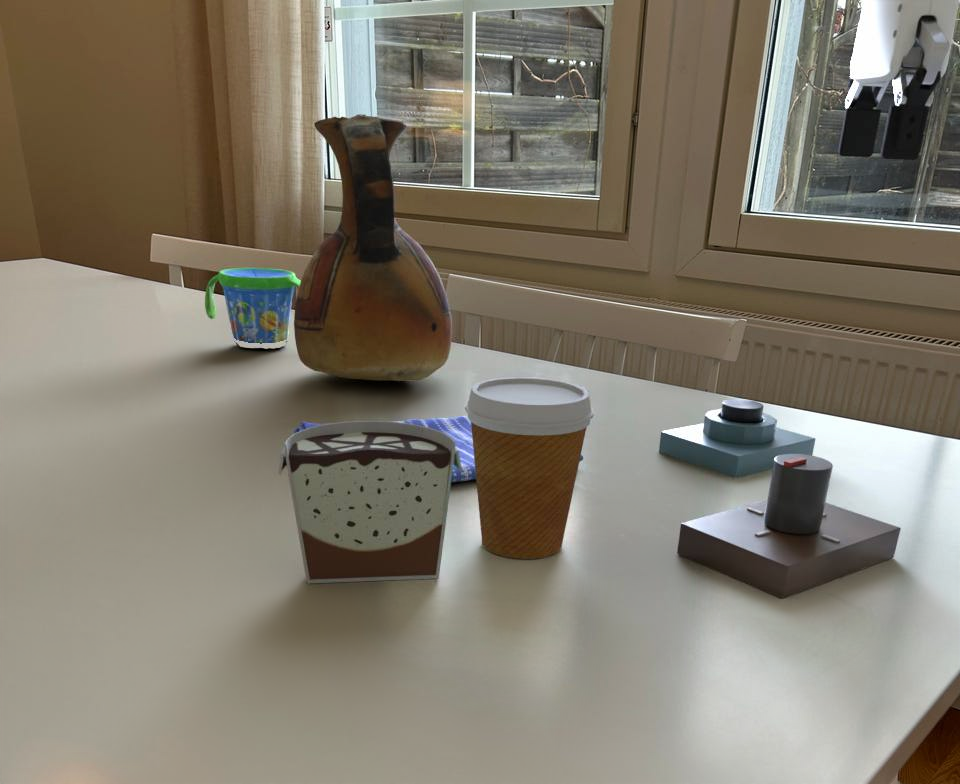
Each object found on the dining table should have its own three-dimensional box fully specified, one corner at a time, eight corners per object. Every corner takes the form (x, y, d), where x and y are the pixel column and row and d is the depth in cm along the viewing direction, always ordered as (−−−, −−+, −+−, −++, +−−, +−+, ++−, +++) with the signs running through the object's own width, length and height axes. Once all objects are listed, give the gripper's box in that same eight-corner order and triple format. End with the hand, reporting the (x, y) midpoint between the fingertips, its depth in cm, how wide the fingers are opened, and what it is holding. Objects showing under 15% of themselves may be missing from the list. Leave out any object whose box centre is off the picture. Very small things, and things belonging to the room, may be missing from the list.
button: (737, 414, 101) (740, 397, 101) (769, 423, 99) (772, 405, 98) (711, 419, 99) (714, 401, 98) (743, 428, 96) (746, 410, 96)
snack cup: (327, 344, 145) (324, 271, 140) (294, 358, 136) (289, 280, 131) (232, 335, 149) (226, 264, 144) (194, 348, 140) (187, 272, 135)
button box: (734, 436, 107) (740, 399, 105) (811, 459, 100) (819, 420, 98) (658, 452, 101) (663, 413, 99) (735, 478, 94) (741, 437, 92)
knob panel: (788, 519, 84) (794, 489, 83) (893, 557, 77) (901, 525, 76) (676, 553, 76) (681, 521, 75) (782, 599, 69) (788, 564, 68)
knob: (786, 511, 78) (798, 446, 76) (831, 527, 75) (845, 460, 73) (752, 521, 76) (763, 454, 73) (797, 538, 73) (810, 469, 70)
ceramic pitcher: (431, 361, 137) (433, 118, 123) (469, 396, 120) (477, 117, 106) (288, 365, 132) (274, 111, 118) (307, 401, 115) (293, 110, 101)
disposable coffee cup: (436, 540, 77) (438, 386, 72) (522, 514, 83) (529, 370, 77) (521, 578, 71) (531, 413, 65) (607, 548, 77) (623, 394, 71)
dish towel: (290, 447, 98) (288, 419, 97) (500, 425, 108) (501, 400, 106) (350, 501, 84) (349, 469, 83) (584, 470, 94) (586, 441, 93)
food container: (447, 545, 76) (449, 417, 72) (459, 577, 71) (462, 441, 66) (285, 551, 74) (277, 419, 70) (285, 584, 69) (276, 444, 64)
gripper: (1020, -92, 74) (961, 162, 82) (918, -53, 89) (877, 157, 97) (923, -97, 73) (873, 159, 81) (837, -58, 89) (802, 154, 96)
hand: (875, 157), depth 89 cm, fingers open, 9 cm apart
